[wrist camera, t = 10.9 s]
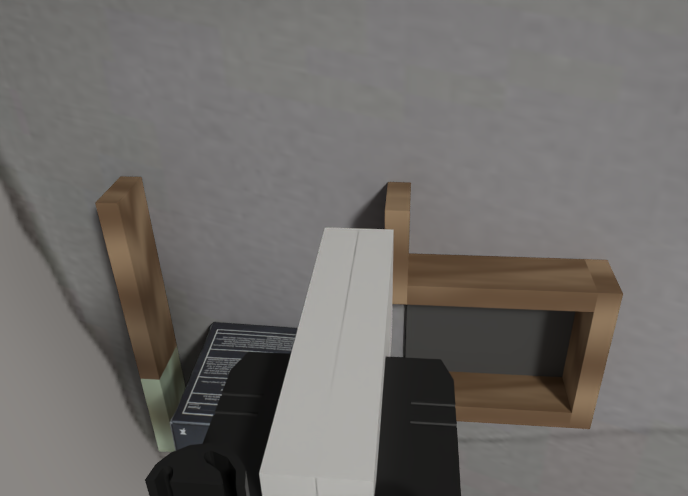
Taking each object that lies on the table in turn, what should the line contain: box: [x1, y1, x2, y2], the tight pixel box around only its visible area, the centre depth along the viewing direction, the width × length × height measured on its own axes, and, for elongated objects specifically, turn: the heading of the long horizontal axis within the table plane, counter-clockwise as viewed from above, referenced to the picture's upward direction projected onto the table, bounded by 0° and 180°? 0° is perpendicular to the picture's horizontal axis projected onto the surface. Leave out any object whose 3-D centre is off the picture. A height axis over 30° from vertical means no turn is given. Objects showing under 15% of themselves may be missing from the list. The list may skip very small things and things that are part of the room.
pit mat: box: [405, 304, 576, 377], centre depth 47 cm, size 9×12×1 cm
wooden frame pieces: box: [95, 177, 623, 452], centre depth 46 cm, size 23×34×4 cm
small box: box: [170, 322, 298, 450], centre depth 47 cm, size 11×6×10 cm, turn 90°
